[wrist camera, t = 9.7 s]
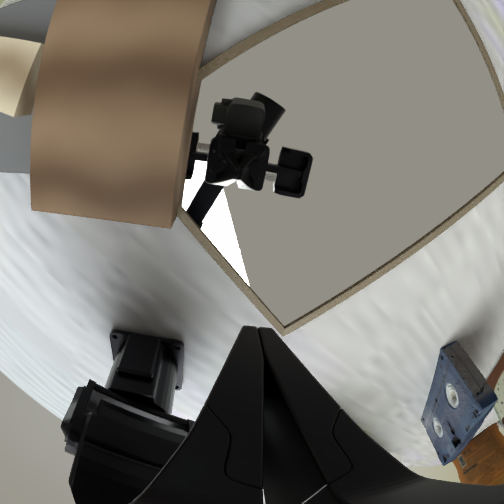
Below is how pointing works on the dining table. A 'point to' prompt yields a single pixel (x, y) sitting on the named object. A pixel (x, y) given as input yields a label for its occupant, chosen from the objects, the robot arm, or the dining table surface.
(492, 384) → the food container
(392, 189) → the rectangular mirror
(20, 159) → the rubber mat
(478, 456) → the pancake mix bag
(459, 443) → the vhs cassette tape
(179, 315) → the dining table surface
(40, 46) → the maple tile
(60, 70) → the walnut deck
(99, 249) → the dining table surface
